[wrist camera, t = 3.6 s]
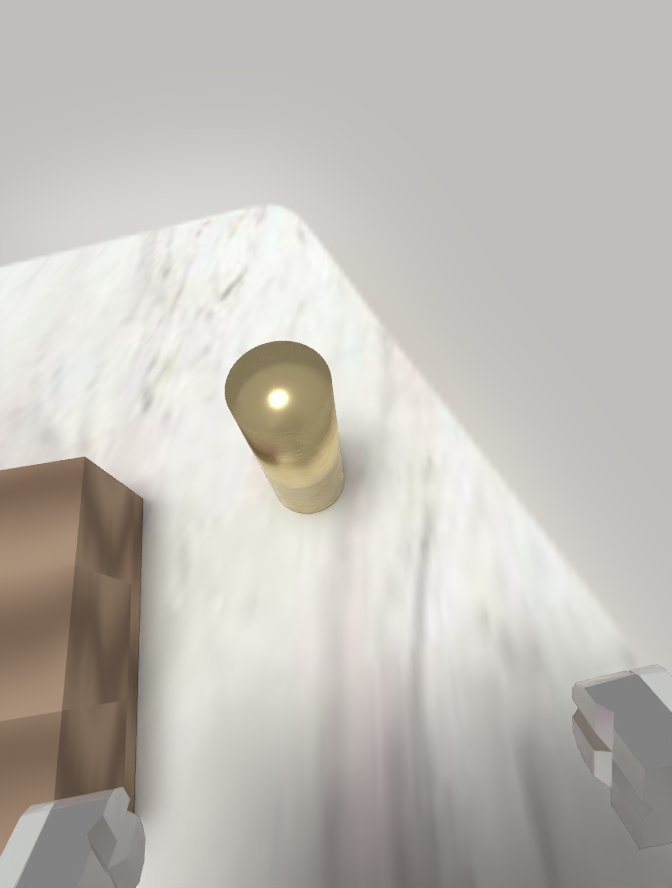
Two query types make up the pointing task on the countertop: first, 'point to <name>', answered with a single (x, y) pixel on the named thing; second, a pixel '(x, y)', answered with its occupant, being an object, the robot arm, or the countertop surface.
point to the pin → (289, 422)
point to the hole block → (67, 634)
